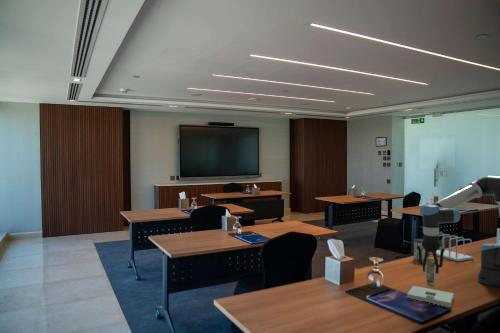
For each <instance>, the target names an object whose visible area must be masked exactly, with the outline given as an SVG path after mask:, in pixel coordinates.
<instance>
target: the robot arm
mask: <svg viewBox="0 0 500 333" xmlns="http://www.w3.org/2000/svg"><path fill="white" fill-rule="evenodd" d="M485 196H493V200H494V202H495V203H497V207H498V213H499V215H498V216H499V217H500V175H485V176H482V177H480V178H477V179H476V180H473V181H471V182H469V183H468V184H467V186H465V187H463V188H461V189H459V190H458V191H455V192H452V193H451V194H449V195H448V196H445V197H444V198H442V199H440V200H437V201H435V202H433V203H431V204H423V205H421V207H420V209H419V213H420V215H421V216H422V234H423V235H422V239H423V243H422V244H421V245H418V246H417V248H418V254H419V260H418V264H419V265H422V272H424V279H426V280H427V263H426V259H427V257H428V253H429V252H432V253H433V255H432V256H433V258H434V260H435V267H434V281H436V280H437V275H438V274H439V268H442V267H443V266H444V258H443V254H444V251H445V250H446V248H445V247H444V248H442V246H441V245H440V236H438V235H440V234H439V233H440V224H447V223H448V224H450V223H451V224H454V223H458V222H459V221H460V220H461V212H460V211H459V209H457V208H458V207H460V206H461V205H464V204H465V203H467V202H470V201H472V200H474V199H476V198H477V199H479V198H481V197H485ZM422 246H423V248H424V249H425V250H426V251H425V256H424V261H422ZM437 250H440V252H441V253H440V257H439V259H438V256H437V253H436V251H437ZM438 260H439V261H438ZM476 279H477V282H479V283H481V284H482V285H483V284H484V285H486V286H491V287H500V243H483V244H481V247H480V270H479V272H478V275H477V278H476Z"/></svg>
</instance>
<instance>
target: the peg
mask: <svg viewBox="0 0 500 333" xmlns="http://www.w3.org/2000/svg"><path fill="white" fill-rule="evenodd" d="M426 265H427V279H426V287H430V288H434V287H435V280H434V267H436V266H435V260H434V257H429V258H427V259H426Z"/></svg>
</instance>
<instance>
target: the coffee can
mask: <svg viewBox="0 0 500 333" xmlns="http://www.w3.org/2000/svg"><path fill="white" fill-rule="evenodd" d="M422 243H423V238H414V239H413V259H414V260H415V261H419V254H418V248H417V246H418V245H421V244H422ZM425 251H426V250H425V249H424V248H423V246H422V262H423V261H424V256H425ZM427 258H430V254H429V253H428V257H427Z"/></svg>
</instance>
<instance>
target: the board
mask: <svg viewBox="0 0 500 333" xmlns="http://www.w3.org/2000/svg"><path fill="white" fill-rule="evenodd" d="M407 298H411V299H416V300H421V301H426V302H429V303H428V304H430V303H433V304H432V305H435V304H437V305H436V306H440V305H441V307H444V306H445V308H449V307H450V308H451V307H452V304H453V301H454V299H455V293H454V292H449V291H443V290H438V289H433V288H427V287H422V286H417V285H412V287H411V288H410V290H409V291H408V292H407V294H406V299H407ZM411 299H410V300H411ZM416 300H415V301H416ZM421 301H420V302H421Z"/></svg>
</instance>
